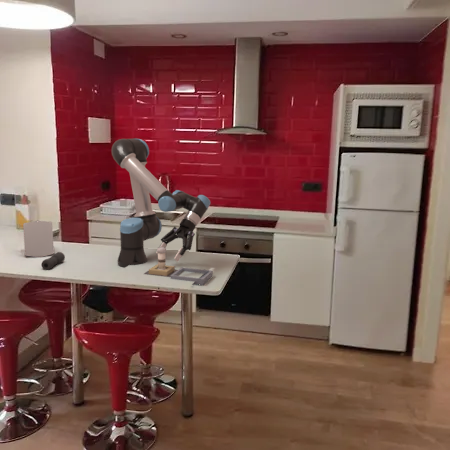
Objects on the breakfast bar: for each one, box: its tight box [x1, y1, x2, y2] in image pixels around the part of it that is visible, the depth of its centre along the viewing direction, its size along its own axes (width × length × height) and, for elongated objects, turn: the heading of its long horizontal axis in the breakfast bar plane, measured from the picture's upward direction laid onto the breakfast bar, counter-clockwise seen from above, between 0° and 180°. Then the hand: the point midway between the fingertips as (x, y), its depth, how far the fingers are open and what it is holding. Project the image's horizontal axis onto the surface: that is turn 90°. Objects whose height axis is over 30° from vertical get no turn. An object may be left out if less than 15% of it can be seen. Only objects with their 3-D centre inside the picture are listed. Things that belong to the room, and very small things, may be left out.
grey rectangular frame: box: [170, 267, 214, 286], centre depth 222 cm, size 16×14×3 cm
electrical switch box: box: [22, 219, 55, 258], centre depth 259 cm, size 14×15×20 cm
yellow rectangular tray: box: [143, 263, 178, 278], centre depth 227 cm, size 14×12×4 cm
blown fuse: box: [156, 246, 167, 270], centre depth 226 cm, size 4×4×12 cm
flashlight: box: [41, 251, 66, 271], centre depth 238 cm, size 15×5×5 cm, turn 173°
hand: (166, 257), depth 226 cm, fingers open, 13 cm apart
